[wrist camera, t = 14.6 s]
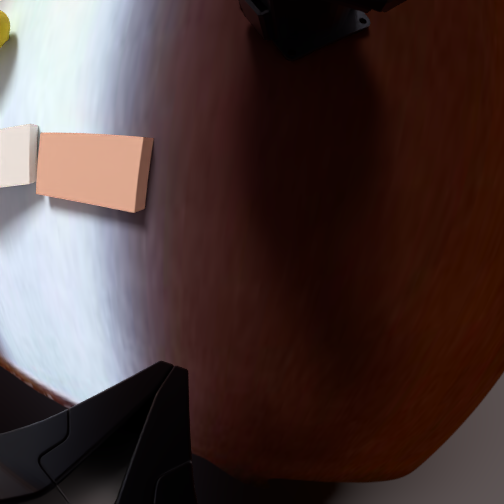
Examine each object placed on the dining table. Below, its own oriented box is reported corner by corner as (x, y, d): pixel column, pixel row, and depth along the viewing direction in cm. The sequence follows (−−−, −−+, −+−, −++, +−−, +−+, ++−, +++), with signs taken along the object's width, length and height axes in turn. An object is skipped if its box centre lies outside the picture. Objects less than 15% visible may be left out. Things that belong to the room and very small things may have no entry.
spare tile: (143, 137, 17) (40, 132, 18) (134, 212, 19) (35, 193, 20) (156, 138, 19) (56, 132, 20) (147, 207, 21) (51, 190, 21)
